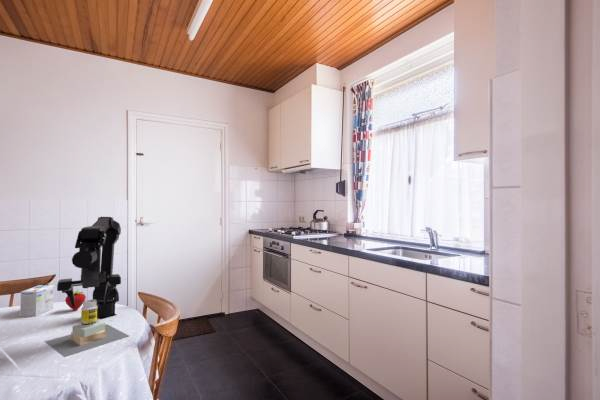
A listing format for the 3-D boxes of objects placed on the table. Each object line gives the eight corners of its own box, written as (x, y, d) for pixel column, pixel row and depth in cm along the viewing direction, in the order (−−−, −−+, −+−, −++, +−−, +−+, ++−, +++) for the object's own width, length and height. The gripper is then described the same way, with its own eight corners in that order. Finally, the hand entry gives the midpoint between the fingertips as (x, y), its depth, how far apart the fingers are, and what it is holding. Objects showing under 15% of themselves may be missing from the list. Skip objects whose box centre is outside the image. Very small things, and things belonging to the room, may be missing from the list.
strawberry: (64, 310, 140) (65, 288, 140) (84, 307, 145) (85, 285, 145) (65, 314, 136) (66, 291, 136) (86, 310, 140) (87, 288, 141)
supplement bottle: (88, 327, 108) (89, 303, 108) (77, 326, 109) (78, 302, 109) (100, 322, 113) (101, 299, 113) (89, 321, 114) (90, 298, 114)
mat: (107, 325, 124) (107, 324, 124) (129, 337, 114) (129, 336, 114) (44, 342, 108) (44, 341, 108) (64, 358, 98) (64, 357, 98)
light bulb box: (38, 308, 142) (39, 284, 142) (53, 308, 143) (54, 284, 143) (19, 316, 131) (20, 291, 132) (35, 316, 132) (36, 291, 132)
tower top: (92, 326, 116) (92, 319, 116) (104, 330, 113) (104, 323, 113) (72, 333, 109) (72, 326, 109) (84, 337, 106) (84, 329, 106)
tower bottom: (95, 332, 117) (96, 325, 117) (105, 337, 112) (105, 330, 112) (70, 339, 110) (71, 332, 110) (80, 345, 105) (80, 338, 105)
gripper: (56, 269, 100) (55, 317, 100) (123, 264, 111) (121, 308, 111) (59, 263, 109) (57, 307, 109) (120, 259, 120) (118, 299, 120)
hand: (89, 305), depth 112 cm, fingers open, 9 cm apart
